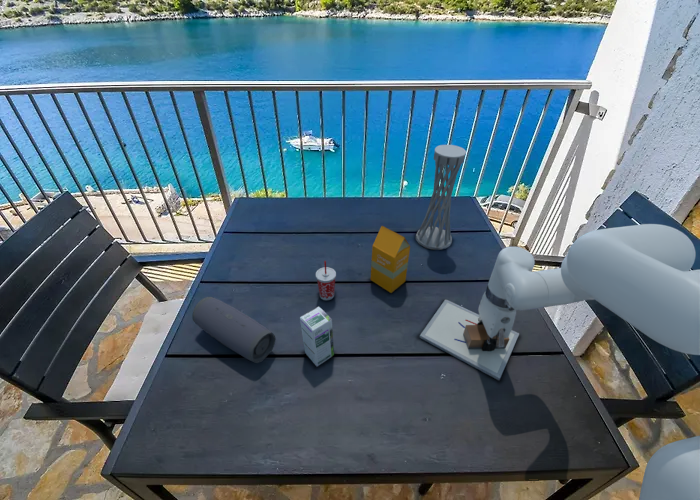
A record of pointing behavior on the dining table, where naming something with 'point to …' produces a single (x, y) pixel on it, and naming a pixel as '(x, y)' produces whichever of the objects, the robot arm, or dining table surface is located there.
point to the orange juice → (389, 259)
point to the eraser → (478, 337)
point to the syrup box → (317, 335)
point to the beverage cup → (326, 282)
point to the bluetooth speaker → (234, 329)
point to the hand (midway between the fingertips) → (484, 340)
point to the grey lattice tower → (434, 235)
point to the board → (449, 338)
